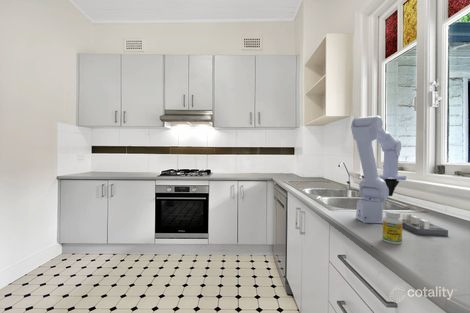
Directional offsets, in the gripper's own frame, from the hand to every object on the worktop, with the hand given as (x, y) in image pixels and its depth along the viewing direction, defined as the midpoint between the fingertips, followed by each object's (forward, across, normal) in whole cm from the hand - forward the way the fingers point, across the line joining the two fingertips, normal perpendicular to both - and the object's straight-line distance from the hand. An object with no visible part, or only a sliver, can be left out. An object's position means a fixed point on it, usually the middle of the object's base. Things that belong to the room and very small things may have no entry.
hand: (389, 195), depth 116 cm
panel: (+9, -3, -20) cm, 22 cm away
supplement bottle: (+10, -24, -31) cm, 40 cm away
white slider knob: (+7, -5, -19) cm, 21 cm away
